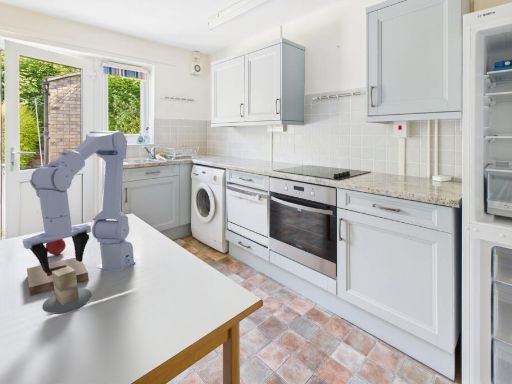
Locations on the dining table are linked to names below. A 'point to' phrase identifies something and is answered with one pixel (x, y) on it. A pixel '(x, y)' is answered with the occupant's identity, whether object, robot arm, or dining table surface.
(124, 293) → the dining table surface
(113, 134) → the robot arm
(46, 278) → the pocket block
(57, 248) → the red rounded piece
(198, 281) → the dining table surface
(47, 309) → the coaster
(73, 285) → the peg
